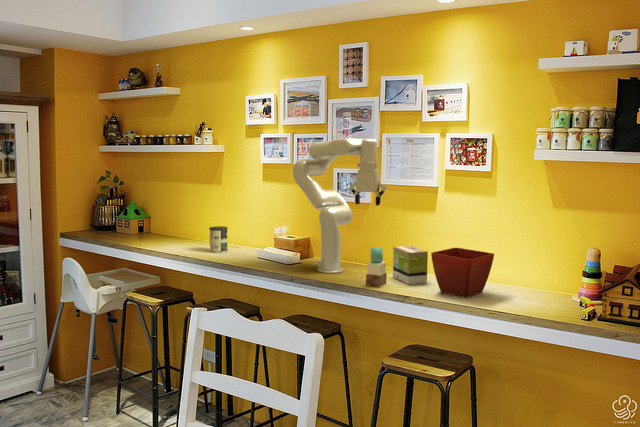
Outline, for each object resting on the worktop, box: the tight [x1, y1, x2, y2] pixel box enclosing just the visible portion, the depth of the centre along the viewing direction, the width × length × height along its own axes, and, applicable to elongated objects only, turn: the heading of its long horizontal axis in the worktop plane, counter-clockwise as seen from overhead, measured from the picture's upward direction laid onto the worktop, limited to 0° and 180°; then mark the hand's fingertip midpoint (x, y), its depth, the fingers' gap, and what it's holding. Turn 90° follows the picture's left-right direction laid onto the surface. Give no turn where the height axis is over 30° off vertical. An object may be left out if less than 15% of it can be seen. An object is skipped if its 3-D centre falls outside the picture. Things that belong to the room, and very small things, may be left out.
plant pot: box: [430, 247, 495, 298], centre depth 230 cm, size 19×19×17 cm
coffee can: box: [209, 225, 229, 254], centre depth 318 cm, size 10×10×14 cm
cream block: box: [366, 261, 387, 276], centre depth 243 cm, size 6×6×5 cm
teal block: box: [370, 247, 384, 262], centre depth 243 cm, size 5×5×6 cm
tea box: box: [392, 245, 429, 285], centre depth 252 cm, size 15×10×15 cm, turn 21°
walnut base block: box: [365, 272, 387, 287], centre depth 243 cm, size 7×7×5 cm
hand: (367, 204), depth 250 cm, fingers open, 9 cm apart
